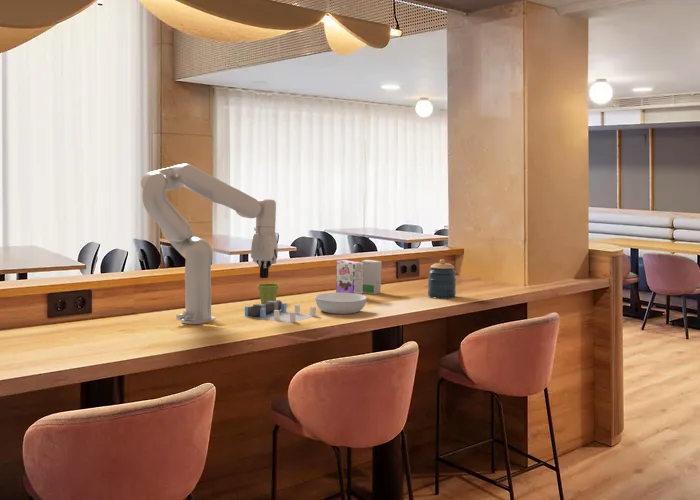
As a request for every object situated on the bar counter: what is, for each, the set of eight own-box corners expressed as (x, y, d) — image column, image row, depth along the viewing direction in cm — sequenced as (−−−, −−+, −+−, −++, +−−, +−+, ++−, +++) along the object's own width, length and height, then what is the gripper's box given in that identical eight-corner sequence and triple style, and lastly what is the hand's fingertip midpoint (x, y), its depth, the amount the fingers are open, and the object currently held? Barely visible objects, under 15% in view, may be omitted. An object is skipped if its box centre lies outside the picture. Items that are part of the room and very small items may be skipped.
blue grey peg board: (290, 325, 256) (290, 313, 255) (242, 318, 267) (242, 307, 267) (317, 317, 271) (317, 306, 271) (270, 311, 283) (270, 300, 282)
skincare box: (359, 293, 332) (360, 260, 331) (366, 291, 338) (366, 259, 336) (375, 294, 328) (375, 261, 327) (381, 292, 334) (382, 260, 332)
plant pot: (260, 307, 292) (260, 287, 291) (254, 303, 301) (254, 283, 300) (281, 306, 296) (281, 285, 295) (275, 302, 304) (275, 282, 304)
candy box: (335, 295, 325) (335, 260, 324) (345, 294, 329) (345, 259, 327) (353, 299, 314) (353, 263, 313) (363, 298, 318) (363, 262, 316)
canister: (451, 294, 331) (452, 257, 329) (459, 298, 318) (459, 260, 317) (424, 294, 330) (425, 257, 328) (431, 299, 317) (432, 260, 315)
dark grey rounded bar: (256, 317, 264) (256, 306, 264) (247, 316, 266) (247, 305, 266) (283, 310, 279) (283, 300, 278) (274, 309, 281) (274, 299, 281)
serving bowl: (320, 319, 268) (320, 301, 268) (310, 309, 289) (310, 293, 288) (372, 317, 273) (372, 300, 272) (359, 307, 293) (359, 291, 293)
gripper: (244, 230, 270) (242, 276, 271) (275, 232, 262) (273, 280, 264) (256, 229, 276) (254, 275, 278) (286, 232, 269) (285, 278, 270)
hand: (263, 277), depth 271 cm, fingers closed
